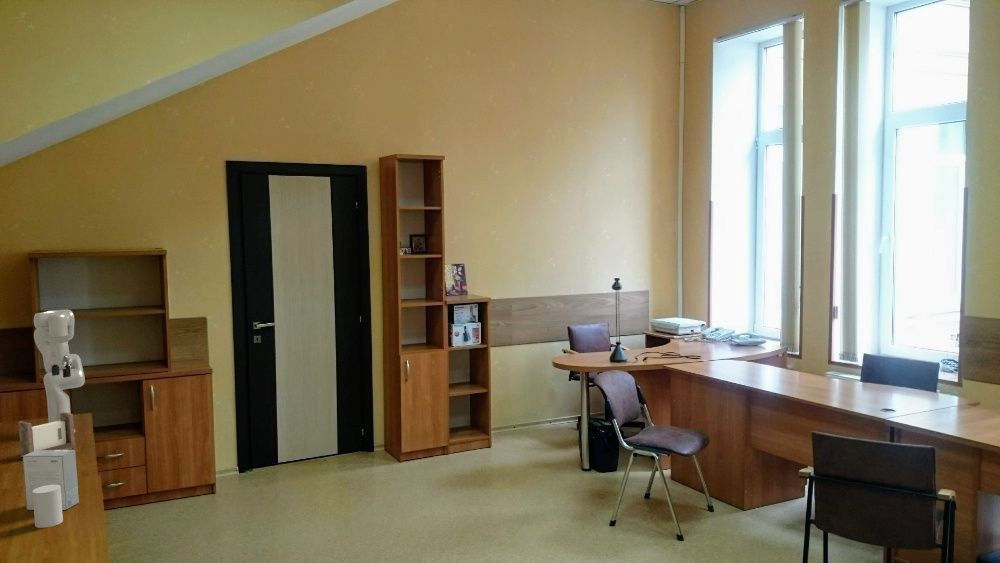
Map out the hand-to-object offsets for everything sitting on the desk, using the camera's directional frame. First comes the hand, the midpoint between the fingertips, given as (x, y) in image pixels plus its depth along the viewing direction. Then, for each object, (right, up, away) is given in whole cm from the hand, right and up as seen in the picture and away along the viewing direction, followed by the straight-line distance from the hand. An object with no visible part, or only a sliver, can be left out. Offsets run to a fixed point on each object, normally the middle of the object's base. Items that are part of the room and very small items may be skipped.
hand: (61, 376), depth 349 cm
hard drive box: (+44, -37, -80) cm, 98 cm away
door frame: (+1, -33, -12) cm, 35 cm away
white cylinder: (+52, -38, -95) cm, 115 cm away
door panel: (+1, -32, -12) cm, 34 cm away
